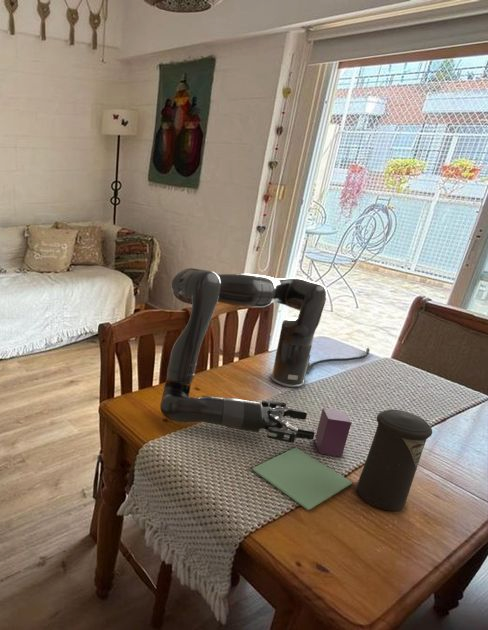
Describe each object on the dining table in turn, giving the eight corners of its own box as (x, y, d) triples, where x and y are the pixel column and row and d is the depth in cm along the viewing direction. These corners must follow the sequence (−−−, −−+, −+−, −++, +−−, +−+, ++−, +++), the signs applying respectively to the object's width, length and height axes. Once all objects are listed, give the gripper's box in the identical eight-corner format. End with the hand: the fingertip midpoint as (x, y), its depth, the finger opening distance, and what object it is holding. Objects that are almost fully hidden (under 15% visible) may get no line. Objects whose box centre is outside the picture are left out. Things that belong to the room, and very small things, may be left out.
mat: (295, 448, 109) (295, 447, 109) (352, 484, 97) (352, 482, 97) (251, 469, 101) (251, 468, 101) (308, 510, 90) (308, 509, 90)
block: (314, 441, 112) (322, 407, 108) (335, 444, 110) (345, 410, 107) (318, 453, 107) (328, 418, 104) (341, 457, 106) (351, 422, 102)
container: (406, 519, 88) (437, 436, 81) (354, 501, 93) (379, 421, 85) (403, 492, 95) (431, 414, 88) (354, 477, 99) (378, 401, 92)
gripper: (244, 417, 104) (320, 428, 100) (240, 387, 117) (306, 397, 113) (240, 443, 107) (313, 455, 103) (235, 411, 120) (300, 421, 116)
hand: (309, 425), depth 108 cm, fingers open, 8 cm apart
